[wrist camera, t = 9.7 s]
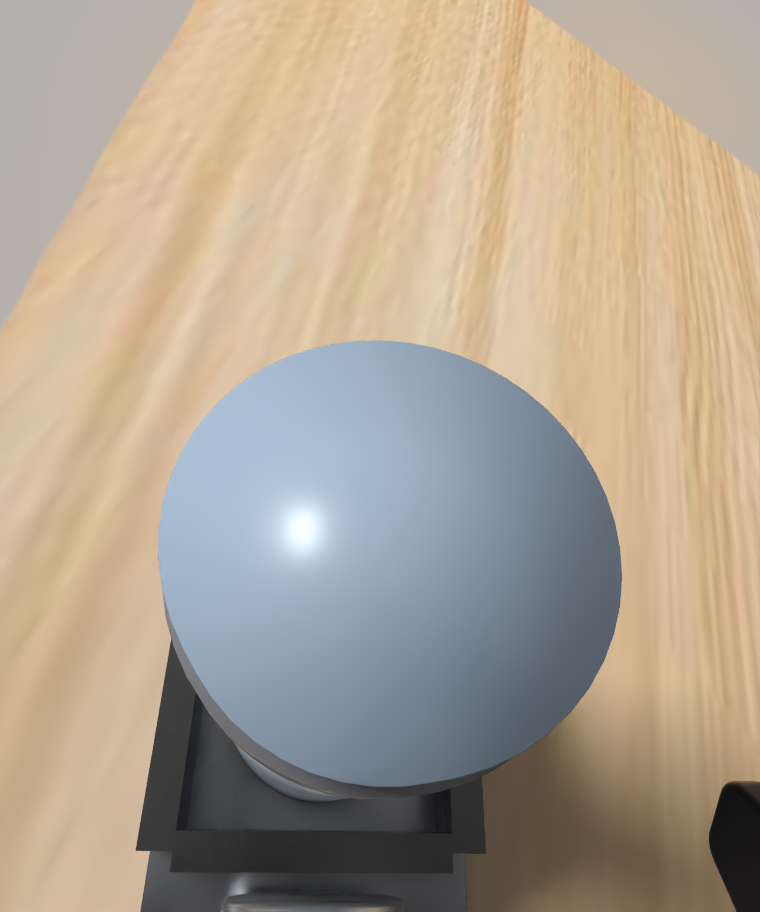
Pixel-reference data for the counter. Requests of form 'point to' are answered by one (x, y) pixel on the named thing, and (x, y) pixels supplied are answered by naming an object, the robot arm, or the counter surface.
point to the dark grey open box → (288, 832)
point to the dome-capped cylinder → (385, 570)
